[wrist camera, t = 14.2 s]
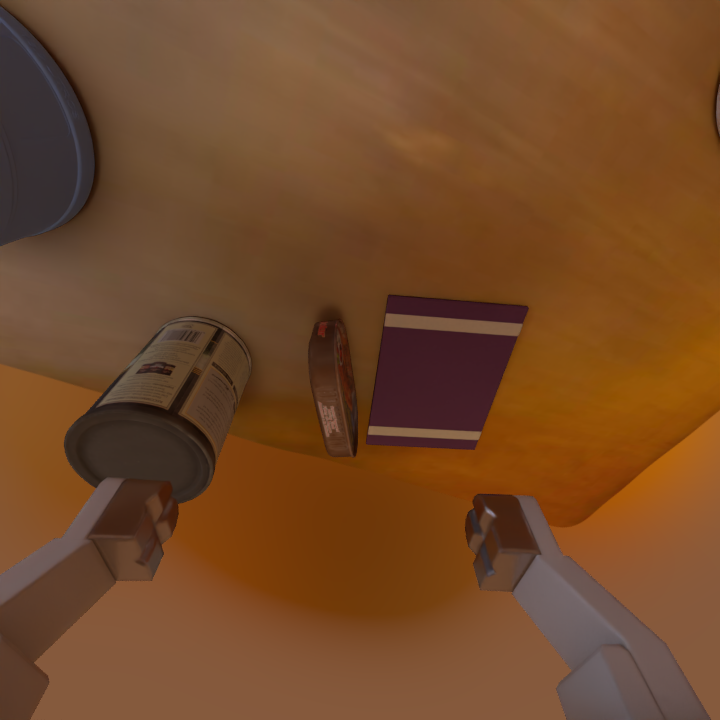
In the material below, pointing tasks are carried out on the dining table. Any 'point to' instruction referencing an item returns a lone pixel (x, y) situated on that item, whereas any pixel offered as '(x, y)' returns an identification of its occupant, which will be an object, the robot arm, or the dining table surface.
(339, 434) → the tin
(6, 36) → the water jug
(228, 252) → the dining table surface
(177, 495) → the coffee can
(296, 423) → the dining table surface
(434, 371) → the cloth
